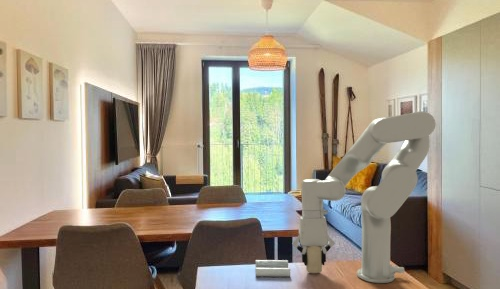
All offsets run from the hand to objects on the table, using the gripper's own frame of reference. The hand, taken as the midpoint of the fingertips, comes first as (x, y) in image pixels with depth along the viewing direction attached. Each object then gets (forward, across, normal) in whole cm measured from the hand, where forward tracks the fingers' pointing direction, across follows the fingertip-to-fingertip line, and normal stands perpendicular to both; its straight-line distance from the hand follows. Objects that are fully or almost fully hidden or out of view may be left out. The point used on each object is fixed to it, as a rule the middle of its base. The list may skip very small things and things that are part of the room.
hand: (314, 263), depth 136 cm
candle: (+3, 0, 0) cm, 3 cm away
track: (+3, +15, 0) cm, 15 cm away
